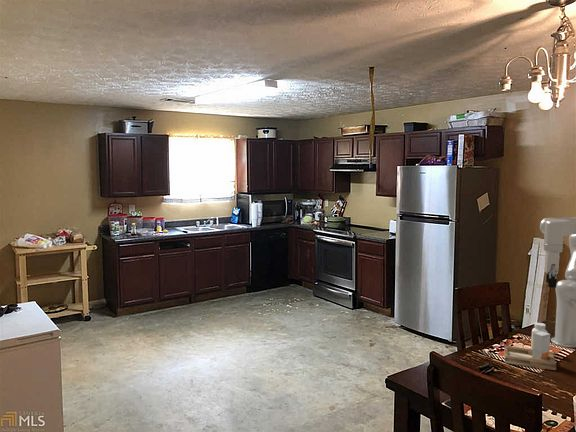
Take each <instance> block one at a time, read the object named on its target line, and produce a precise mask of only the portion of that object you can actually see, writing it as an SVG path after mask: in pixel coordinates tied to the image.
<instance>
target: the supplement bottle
mask: <svg viewBox="0 0 576 432" xmlns="http://www.w3.org/2000/svg"><path fill="white" fill-rule="evenodd" d="M546 327H547V326H546V324H545V323H543V322H534V327H533V328H532V330H531V339H530V340H531V341H530V342H531V343H530V349H533V337H534V333H537V332H541V331H543V332H546V333H548V331H547V330H546Z"/></svg>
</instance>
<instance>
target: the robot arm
mask: <svg viewBox="0 0 576 432" xmlns="http://www.w3.org/2000/svg"><path fill="white" fill-rule="evenodd" d="M539 230H540V232H541V233H542V234H544V235H543V236H544V238H543V251H544V252H545V255H544V256H545V257H544V265H543V267H544V268H543V269H544V270H543V271H544V273H545V274H546V277H545V282H546V284H548V285H547V287H548V288H553V289H554V288H555V294H556V297H555V298H556V311H555V312H556V313H555V327H554V328H555V329H554V333H555V334H554V336H553V337H550V343H552V344H554V345H557V346H559V347H564V348H571V349H572V348H573V349H574V348H576V216H574V217H573V216H572V217H566V216H565V217H563V216H562V217H544V218H543V219H542V220H541V221H540V224H539ZM564 236H565V237H568V245H569V251H570V258H569V261H568V264H567V266H566V269H565V273H564V277H565V279H561V280H559V281H558V280H557V275H558V273H559V267H560V266H559V264H560V254H561V253H563V249H564Z"/></svg>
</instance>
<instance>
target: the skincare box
mask: <svg viewBox="0 0 576 432" xmlns="http://www.w3.org/2000/svg"><path fill="white" fill-rule="evenodd" d="M550 343H551V333H548V332H547V333H546V332H543V331H541V332H537V333H534V337H533V352H532V358H536V359H544V360H549V352H550Z"/></svg>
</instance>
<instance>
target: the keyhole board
mask: <svg viewBox="0 0 576 432" xmlns="http://www.w3.org/2000/svg"><path fill="white" fill-rule="evenodd" d="M503 352H504V353H503V354H504V364H510V365H517V366H525V367H531V368H536V369H537V368H538V369H543V370H544V369H545V370H553V371H557V363H556V360H555V356H554V352H553V351H549V360H544V359H536V358H532V352H533V349H531V348H525V347H519V346H518V347H517V346H511V345H510V346H509V345H504V351H503Z"/></svg>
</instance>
